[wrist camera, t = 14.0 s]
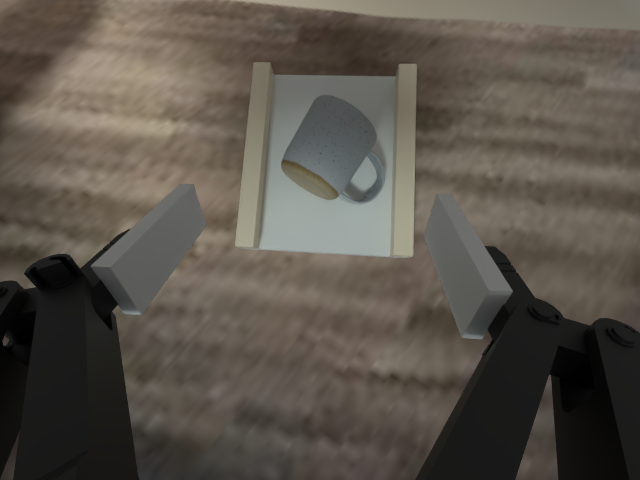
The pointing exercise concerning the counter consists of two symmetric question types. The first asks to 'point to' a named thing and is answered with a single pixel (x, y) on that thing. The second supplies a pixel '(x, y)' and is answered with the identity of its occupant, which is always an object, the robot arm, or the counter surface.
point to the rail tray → (337, 215)
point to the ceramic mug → (332, 150)
